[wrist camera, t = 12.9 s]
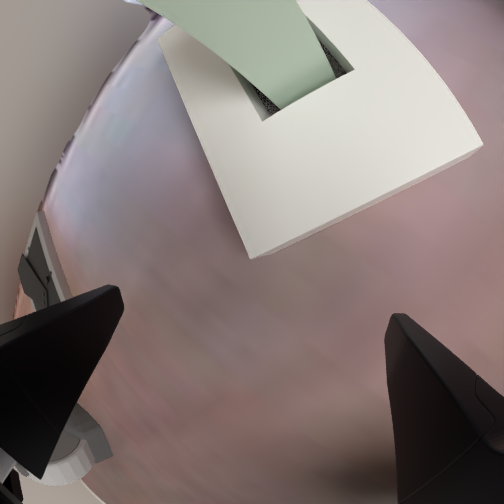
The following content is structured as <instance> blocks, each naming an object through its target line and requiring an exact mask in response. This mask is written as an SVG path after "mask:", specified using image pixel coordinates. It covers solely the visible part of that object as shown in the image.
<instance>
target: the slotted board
mask: <svg viewBox="0 0 504 504" xmlns="http://www.w3.org/2000/svg"><path fill="white" fill-rule="evenodd" d="M296 1H297V3H298V5H299V6H300V8H301V10H302V12H303V13H304V15H305V17H306V19H307V20H308V22H309V24H310V26H311V28H312V30H313V31H314V33H315V35H316V37H317V38H318V40H319V41H320V42H321V43H322V44H323V45H324V46H325V47H326V49H327V50H328V51H329V52H330V53H331V54H332V56H333V57H334V58H335V59H336V60H337V62H338V63H339V64H340V65H341V66H342V68H343V69H344V70H345V72H346V73H347V74H345V75H343V76H341V77H339V78H337V79H335V80H333V81H331V82H330V83H328V84H326V85H324V86H322V87H320V88H318V89H317V90H315V91H313V92H311V93H309V94H308V95H306V96H304V97H302V98H301V99H299V100H297V101H295V102H294V103H292V104H290V105H289V106H287V107H285V108H284V109H282V110H280V111H279V112H277V113H275V114H274V115H272V116H270V115H269V113H268V111H267V110H266V108H265V106H264V104H263V103H262V101H261V99H260V98H259V96H258V94H257V93H256V91H255V89H254V88H253V86H252V85H251V83H250V81H249V80H247V79H246V78H245V77H244V76H243V75H242V74H240V73H239V72H238V71H237V70H235V69H234V68H233V67H232V66H231V65H229V64H228V63H227V62H226V61H224V60H223V59H222V58H221V57H219V56H218V55H217V54H215V53H214V52H213V51H212V50H210V49H209V48H208V47H206V46H205V45H204V44H202V43H201V42H199V41H198V40H197V39H195V38H194V37H193V36H191V35H190V34H188V33H187V32H185V31H184V30H183V29H181V28H180V27H178V26H177V25H175V24H174V25H173V26H172V27H171V28H170V29H169V30H167V31H166V32H165V33H164V34H163V35H162V36H161V37H159V38H158V39H157V40H158V43H159V45H160V48H161V50H162V52H163V55H164V57H165V60H166V62H167V64H168V67H169V69H170V71H171V74H172V76H173V79H174V81H175V83H176V86H177V88H178V91H179V93H180V95H181V98H182V100H183V102H184V105H185V107H186V110H187V112H188V114H189V117H190V119H191V121H192V124H193V126H194V129H195V131H196V133H197V136H198V138H199V140H200V143H201V145H202V147H203V150H204V152H205V155H206V157H207V159H208V162H209V164H210V166H211V169H212V171H213V173H214V176H215V178H216V180H217V183H218V185H219V188H220V190H221V192H222V195H223V197H224V199H225V202H226V204H227V206H228V209H229V211H230V213H231V216H232V218H233V220H234V223H235V225H236V227H237V230H238V232H239V234H240V237H241V239H242V241H243V244H244V246H245V248H246V251H247V253H248V255H249V258H250V259H254V258H258V257H262V256H266V255H270V254H273V253H275V252H277V251H279V250H281V249H284V248H286V247H288V246H290V245H292V244H294V243H296V242H298V241H300V240H302V239H304V238H307V237H309V236H311V235H313V234H315V233H317V232H319V231H321V230H323V229H325V228H327V227H329V226H331V225H333V224H336V223H338V222H340V221H342V220H344V219H346V218H348V217H350V216H352V215H354V214H356V213H358V212H360V211H362V210H364V209H366V208H368V207H370V206H372V205H375V204H377V203H379V202H381V201H383V200H385V199H387V198H389V197H391V196H393V195H395V194H397V193H399V192H401V191H403V190H405V189H407V188H409V187H411V186H413V185H415V184H417V183H419V182H421V181H423V180H425V179H427V178H429V177H431V176H433V175H435V174H437V173H439V172H441V171H443V170H445V169H447V168H449V167H451V166H453V165H455V164H457V163H459V162H461V161H463V160H465V159H467V158H469V157H470V156H471V155H472V154H473V153H475V152H476V151H477V150H478V149H479V148H480V147H481V146H482V145H484V144H483V142H482V141H481V139H480V137H479V135H478V133H477V132H476V130H475V128H474V126H473V125H472V123H471V121H470V120H469V118H468V117H467V115H466V113H465V112H464V110H463V109H462V107H461V106H460V104H459V103H458V101H457V100H456V98H455V97H454V95H453V94H452V92H451V91H450V90H449V88H448V87H447V85H446V84H445V83H444V81H443V80H442V79H441V77H440V76H439V75H438V74H437V72H436V71H435V70H434V68H433V67H432V66H431V65H430V64H429V62H428V61H427V60H426V59H425V58H424V56H423V55H422V54H421V53H420V52H419V51H418V50H417V48H416V47H415V46H414V45H413V44H412V43H411V42H410V41H409V40H408V39H407V38H406V36H405V35H404V34H403V33H402V32H401V31H400V30H399V29H398V28H397V27H396V26H395V25H394V24H393V23H392V22H391V21H389V20H388V19H387V18H386V17H385V16H384V15H383V14H382V13H381V12H380V11H379V10H378V9H376V8H375V7H374V6H373V5H372V4H371V3H369V2H368V1H367V0H296Z"/></svg>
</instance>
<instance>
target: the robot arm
mask: <svg viewBox="0 0 504 504" xmlns="http://www.w3.org/2000/svg"><path fill="white" fill-rule="evenodd" d="M123 312H124V303H123V300H122V296H121V292H120V289H119V287H117V286H115V285H105V286H102V287H100V288H97V289H94V290H92V291H89V292H86V293H83V294H81V295H78V296H75V297H73V298H70V299H67V300H65V301H62V302H59V303H57V304H54V305H51V306H49V307H46V308H44V309H41V310H38V311H36V312H33V313H31V314H28V315H25V316H23V317H20V318H17V319H15V320H12V321H9V322H7V323H4V324H1V325H0V504H23V503H22V501H23V495H22V490H21V485H20V480H19V474H18V472H17V471H15V470H14V469H13V467H14V466H15V464H16V462H18V463H19V464H20V465H21V466H22V467H24V468H25V469H26V470H27V471H29V472H30V473H31V474H33V475H34V476H35V477H37V478H38V479H39V480H41V479H42V477H43V475H44V473H45V470H46V468H47V465H48V463H49V461H50V458H51V456H52V454H53V452H54V449H55V447H56V445H57V443H58V440H59V438H60V435H61V434H62V431H63V429H64V427H65V425H66V423H67V421H68V419H69V417H70V415H71V413H72V411H73V409H74V407H75V405H76V403H77V401H78V399H79V397H80V395H81V393H82V391H83V389H84V388H85V386H86V384H87V382H88V380H89V378H90V376H91V374H92V373H93V371H94V369H95V367H96V365H97V364H98V362H99V360H100V358H101V357H102V355H103V353H104V351H105V350H106V348H107V346H108V344H109V342H110V340H111V338H112V335H113V333H114V331H115V329H116V327H117V325H118V322H119V320H120V318H121V316H122V314H123ZM384 342H385V356H386V373H387V386H388V393H389V400H390V407H391V414H392V422H393V431H394V441H395V453H396V467H397V492H398V504H504V397H503V396H502V395H501V394H499V393H498V392H497V391H496V390H495V389H493V388H492V387H491V386H490V385H489V384H488V383H487V382H485V381H484V380H483V379H482V378H481V377H480V376H479V375H476V373H475V372H474V371H473V370H472V369H471V368H470V367H468V366H467V365H466V364H465V363H464V362H463V361H462V360H460V359H459V358H458V357H457V356H456V355H455V354H453V353H452V352H451V351H450V350H449V349H448V348H446V347H445V346H444V345H443V344H442V343H440V342H439V341H438V340H437V339H436V338H434V337H433V336H432V335H431V334H430V333H428V332H427V331H426V330H425V329H424V328H422V327H421V326H420V325H419V324H417V323H416V322H415V321H414V320H413V319H411V318H410V317H409V316H408V315H406V314H404V313H394V314H392V316H391V318H390V321H389V324H388V327H387V330H386V333H385V339H384Z"/></svg>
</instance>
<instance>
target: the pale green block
mask: <svg viewBox="0 0 504 504" xmlns="http://www.w3.org/2000/svg"><path fill="white" fill-rule="evenodd" d="M136 1H138V2H140V3H142V4H143V5H145V6H147V7H148V8H150V9H152V10H153V11H155V12H157V13H158V14H160V15H161V16H163V17H164V18H166V19H168V20H169V21H171V22H172V23H174V24H175V25H177V26H178V27H180V28H181V29H183V30H184V31H185V32H187V33H188V34H190V35H191V36H193V37H194V38H195V39H197V40H198V41H199V42H201V43H202V44H204V45H205V46H206V47H208V48H209V49H210V50H212V51H213V52H214V53H215V54H217V55H218V56H219V57H221V58H222V59H223V60H224V61H226V62H227V63H228V64H229V65H231V66H232V67H233V68H234V69H235V70H237V71H238V72H239V73H240V74H242V75H243V76H244V77H245V78H246V79H247V80H249V81H250V82H251V83H252V84H253V85H254V86H255V87H257V88H258V89H259V90H260V91H261V92H262V93H263V94H264V95H266V96H267V97H268V98H269V99H270V100H271V101H272V102H273V103H274V104H275V105H276V106H277V107H279V108H280V109H281V110H282V109H284V108H285V107H287V106H289V105H290V104H292V103H294V102H295V101H297V100H299V99H301V98H302V97H304V96H306V95H308V94H309V93H311V92H313V91H315V90H317V89H318V88H320V87H322V86H324V85H326V84H328V83H330V82H331V81H333V80H335V79H336V77H335V75H334V72H333V70H332V68H331V66H330V64H329V61H328V59H327V57H326V55H325V53H324V51H323V49H322V47H321V45H320V43H319V41H318V39H317V37H316V35H315V33H314V31H313V30H312V28H311V26H310V24H309V22H308V20H307V19H306V17H305V15H304V13H303V12H302V10H301V8H300V6H299V5H298V3H297V1H296V0H136Z"/></svg>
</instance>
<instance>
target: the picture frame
mask: <svg viewBox="0 0 504 504" xmlns="http://www.w3.org/2000/svg"><path fill="white" fill-rule="evenodd" d="M18 272H19V276H20V280H21V283H22V287H23V290H24V293H25V294H26V295H27V296H29V298H30V301H31V304H32V307H33V310H34V312H36V311H38V310H41V309H44V308H46V307H49V306H51V305H54V304H57V303H59V302H62V301H65V300H67V299H70V298H73V295H72V293H71V290H70V288H69V286H68V283H67V280H66V278H65V275H64V273H63V270H62V267H61V264H60V262H59V259H58V256H57V253H56V250H55V247H54V244H53V241H52V237H51V234H50V231H49V227H48V224H47V220H46V216H45V213H44V211H37V212H36V216H35V219H34V222H33V225H32V229H31V232H30V235H29V239H28V242H27V246H26V250H25V254H24V255H23V254H22V256H21V259H20V263H19V267H18Z"/></svg>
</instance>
